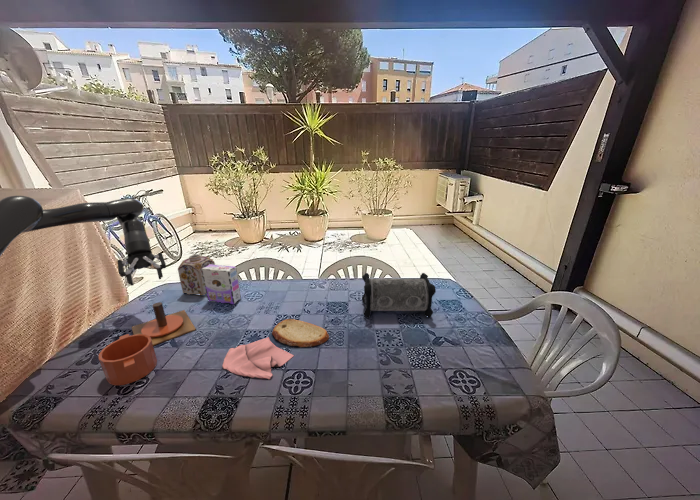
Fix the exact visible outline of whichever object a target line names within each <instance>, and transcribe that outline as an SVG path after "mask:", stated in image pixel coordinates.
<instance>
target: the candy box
mask: <svg viewBox="0 0 700 500" xmlns="http://www.w3.org/2000/svg"><path fill="white" fill-rule="evenodd" d="M237 269H238V268H237V266H234V265H233V266H232V265H222V264H215V265H213V264H210V265H208V266H206V267H204V268H202V274H203V278H204V283H205V288H206V293H207V294H206V298H207V301H208V300H209V301H208V302H210V301H215V302H214V303H219V302H221V303H220V304H226V303H228V304H227V305H235V304H237V303H238V302H239V301H240V300H241V299H242V296H241V289H240V281H239V275H238V270H237ZM240 298H241V299H240ZM239 299H240V300H239ZM238 300H239V301H238ZM237 301H238V302H237Z"/></svg>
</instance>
